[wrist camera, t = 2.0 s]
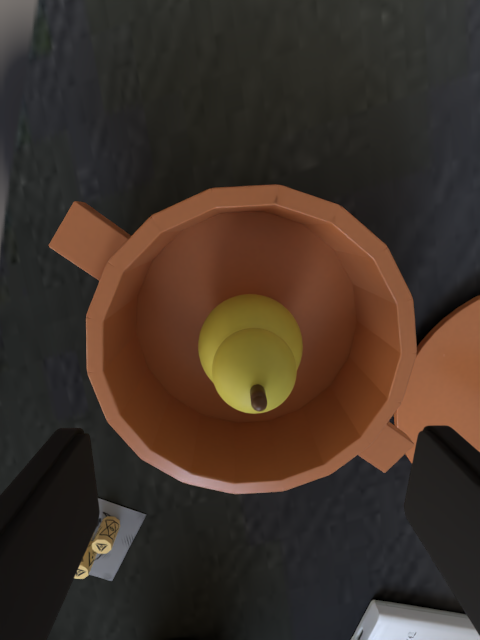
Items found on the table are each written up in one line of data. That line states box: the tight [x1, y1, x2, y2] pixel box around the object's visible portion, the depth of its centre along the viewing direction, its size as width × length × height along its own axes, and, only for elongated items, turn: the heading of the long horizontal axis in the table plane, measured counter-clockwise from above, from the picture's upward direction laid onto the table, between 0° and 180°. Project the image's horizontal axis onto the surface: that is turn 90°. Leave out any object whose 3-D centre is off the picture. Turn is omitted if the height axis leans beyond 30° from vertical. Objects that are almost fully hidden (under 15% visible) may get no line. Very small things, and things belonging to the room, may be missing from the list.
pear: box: [198, 294, 303, 414], centre depth 16 cm, size 6×6×9 cm
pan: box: [49, 184, 417, 494], centre depth 18 cm, size 16×21×6 cm
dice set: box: [74, 516, 121, 579], centre depth 24 cm, size 5×5×2 cm
